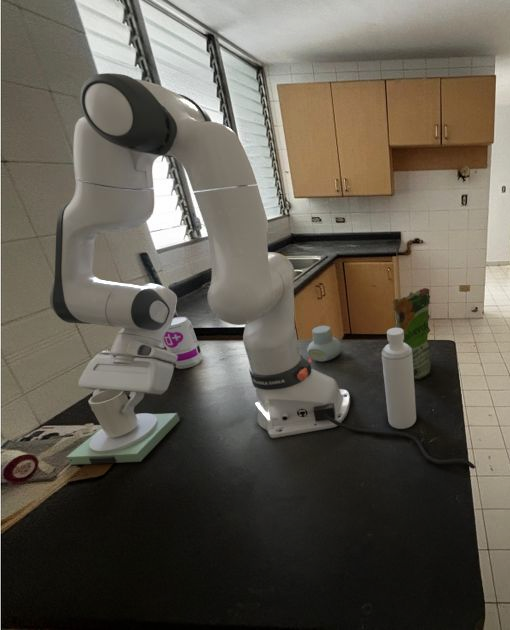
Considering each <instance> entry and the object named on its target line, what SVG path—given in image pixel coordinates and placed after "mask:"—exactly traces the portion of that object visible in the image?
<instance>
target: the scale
mask: <svg viewBox="0 0 510 630" xmlns="http://www.w3.org/2000/svg"><path fill="white" fill-rule="evenodd" d="M135 415H136V417H137V419H138V421H139V423H138V425H137V426H136V427H135V428H134V429H133V430H131V431H130V432H128V433H126V434H124V435H121V436H117V437H107V436H106V434H105V433H104V431H103V429H102V427H101V428H100V429H98V430H97V431H96V432H94V433H93V434H92V435H91V436H90V437H89V438H87V439H86V440H85V441H84V442H83V443H81V444H80V445H79V446H77V447H76V448H75V449H74V450H72V451H71V452H70V453H69V454H68V455H67V456H65V458H66V460H67V461H68V460H72V461H68V463H69V465H71V466H72V465H93V464H95V465H97V464H115V463H138V462H139V463H140V462H142V461H143V459H145V457H147V456H148V455H149V454H150V453H151V451H152V450H153V449H155V447H156V446H157V445H158V444H159V443H160V442H161V441H162V440H163V439H164V437H165V436H166V435H167V434H168V433H169V432H170V431H171V430H172V429H173V428H174V427H175V426H176V425H177V424H178V423H179V422H180V420H181V419H180V417H179V414H178V412H174V413H173V412H170V413H148V412H143V413H135Z"/></svg>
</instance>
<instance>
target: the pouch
mask: <svg viewBox="0 0 510 630" xmlns="http://www.w3.org/2000/svg"><path fill="white" fill-rule="evenodd" d="M430 299H431V295H430V289H429V288H426V287H423V288H420V289H419V290H416V291H415V292H412V291H410V293H409V295H408V296H404V297H402V298H394V300H392V301H391V303H392V305H393V311H394V312H395V319H396V323H395V326H394V328H401V329H403V331H404V340H403V343H406V344H407V345H409V346H410V347H411V348H412V349H411V350H412V357H413V372H414V380H421V379H423V378H424V377H426V376H428V375H429V374H430V373H431V366H432V365H431V364H432V363H431V360H430V354H431V353H430V352H431V351H430V350H431V346H430V345H429V341H428V339H429V338H428V337H429V335H428V334H429V333H430V332H431V328H430V326H429V320H430V318H431V315H430V313H429V312H430V311H429V309H430V308H429V305H430V304H431V301H430ZM410 347H409V348H410Z"/></svg>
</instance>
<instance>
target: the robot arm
mask: <svg viewBox="0 0 510 630" xmlns="http://www.w3.org/2000/svg"><path fill="white" fill-rule="evenodd" d="M79 103H80V107H81V111H82V114H83V116H82V117H81V118H79V119H78V120H77V121H76V123H75V125H74V130H73V141H72V142H73V143H72V160H73V171H74V179H75V189H74V194H73V197H72V198H71V200H70V201H66V202H65V203H63V204H62V205H61V207H60V208H59V211H58V214H57V219H56V227H55V229H56V230H55V251H54V252H55V255H54V278H53V284H52V287H51V290H50V294H49V304H50V307H51V309H52V311H53V312H54V314H56V316H57V317H58V318H59V319H60V320H62V321H63V322H66V323H68V324H81V325H82V324H83V325H96V326H97V325H98V326H104V327H112V328H120V330H119V331H118V332H117V334H116V336H115V339H114V341H113V344H112V346H111V348H110V350H109V349H104V350H102V351H100V352H99V353H97V354H95V356H94V357H93V358H91V359H90V361H89V362H88V364H87V365H86V367H85V369H84V370H83V372H82V374H81V375H80V377H79V379H78V382H77V383H78V388H80V389H85V390H90V391H91V390H92V391H93V393H92V396H94V395H95V394H97V393H99V392H101V391H104V390H118V391H125V392H131V393H130V395H129V396H128V397H129V398H128V402H127V403H126V404H125V405H122V406H121V409H120V411H119V412H120V413H123V414H132V413H133V410H134V411H135V407H136V406H137V405H138V404H139V403H140V402H141V401H143V399H144V397H145V394H147V395H163V394H164V393H165V392H166V391H167V390H168V388H169V386H170V383H171V381H172V377H173V373H174V370H175V367H174V366H173V363H175V362H176V361H177V358H178V356H177V355H176V354H174V353H171V352H169V351H167V349H165V348H163V347H164V345H165V343H164V336H165V333H166V332H167V330H168V329H169V328H170V325H171V323H172V320H173V318H174V316H175V313H176V308H177V304H178V303H177V302H178V296H177V294H176V293H175V292H174V291H173V290H172V289H170V288H169V287H166V286H164V285H161V284H158V283H145V284H143V285H139V284H132V283H124V282H123V283H122V282H117V281H111V280H104V279H100V278H99V277H97V276H96V275H95V274H94V273H93V268H94V267H93V266H94V253H95V243H96V242H95V241H96V239H97V238H98V236H100V235H102V234H106V233H114V232H121V231H125V230H130V229H134V228H136V227H139V226H142V225H143V224H145V223H146V222H147V221H148V220H149V219H150V218H151V217H152V215H153V214H154V210H155V188H154V178H153V168H154V167H153V166H154V163H155V161H156V160H157V159H158V158H159V157H163V156H165V157H167V158H174V159H176V160H177V161H178V162H179V164H180V165H182V167H183V169H184V171H185V173H186V175H187V178H188V180H189V184H190V187H191V189H192V192H193V195H194V198H195V201H196V203H197V207H198V209H199V212H200V214H201V215H200V216H201V218H202V221H203V224H204V227H205V230H206V234H207V238H208V243H209V244H208V245H209V252H210V253H209V254H210V264H211V265H210V267H211V278H210V279H211V280H210V284H209V288H208V290H207V295H206V296H207V298H206V299H207V303H208V306H209V309H210V310H211V311H212V313H213V314H214V315H215V316H216V317H217V318H218V319H219V320H220V321H222V322H224V323H227V324H230V325H233V326H234V325H235V326H243V325H244V330H243V335H242V340H243V341H242V342H243V346H244V349H245V354H246V357H247V360H248V364H249V369H248V370H249V371H248V372H249V374H250V379H251V382H252V385H253V387H254V388H255V393H256V399H257V402H255V406H256V407H257V418H256V420H257V423H258V425H259V427H261V428H262V429H264V430H266V431H267V434H268V436H269V437H270V438H271V439H277V438H281V437H282V438H283V437H287V436H294V435H300V434H304V433H305V434H306V433H311V432H316V431H322V430H327V429H328V430H329V429H333V428H336V427H340V428H343V429H345V430H349V431H352V432H356V433H363V434H372V435H380V436H381V435H382V436H399V437H404V438H408V439H410V440H412V441H413V442H414V443H415V444H416V445H417V447H418V448H419V450H420V452H421V454H422V455H423V457H424V458H425V459H426V460H428V461H429V462H430V463H432V464H435V465H451V464H464V465H466V466H468V467H469V468H470V469H473V470H475V469H476V465H475V464H474V463H472V462H471V461H470V460H468V459H465V458H459V457H458V458H449V459H436V458H435V457H433V456H432V455H430V454H428V452H427V451H426V449H425V448H424V446H423V444H422V442H421V441H420V439H419V438H418V437H416V436H415V435H413V434H411V433H408V432H405V431H404V432H403V431H392V430H389V431H388V430H381V429H380V430H379V429H367V428H360V427H356V426H351V425H347V424H345V423H342V422H343V421H344V420H345V418H346V417H347V415H348V413H349V411H350V406H351V396H350V393H349V391H348V390H347V389H344V388H340V387H339V385H338V382H337V381H336V380H335V378H333V377H332V376H329V375H327V374H325V373H322V372H321V371H318V370H316V369H313V368H312V367H311V364H312V363H313V362H312V360H313V359H312V358H311V357H309V358H308V360H307V359H305V358H304V356H303V355H302V354H301V352H300V346H299V341H298V336H297V331H296V323H295V294H294V293H295V292H294V291H295V290H294V283H295V275H296V273H295V267H294V265H293V263H292V262H291V261H290V259H289V258H288V257H287V256H285V255H284V254H282V253H279V252H273V251H269V249H268V247H269V246H268V233H269V226H270V225H269V220H268V217H267V214H266V210H265V207H264V203H263V199H262V196H261V194H260V193H261V192H260V190H259V186H258V183H257V179H256V175H255V173H254V170H253V167H252V165H251V163H250V160H249V157H248V155H247V153H246V151H245V148H244V146H243V145H242V142H241V140H240V138H239V137H238V135H237V133H236V132H235V131H234V130H233V129H231V128H230V127H228V126H227V125H225V124H222V123H220V122H217V121H212V119H211V117H210V116H209V114H208V113H207V111H206V110H205V109H204V108H203V107H202V105H200V104H199V103H197V102H196V101H195V100H193V99H191V98H190V97H188V96H185V95H183V94H180V93H176V92H175V91H173V90H170V89H168V88H166V87H164V86H162V85H160V84H157V83H153V82H152V81H151V82H150V81H147V80H143V79H140V78H133V77H131V76H129V75H126V74H122V73H111V72H106V73H105V72H103V73H98V74H94V75H91V76H90V77H88V78H87V79H86V80H85V81H84V83H83V84H82V86H81V89H80V94H79ZM91 411H92V412H93V410H92V408H91Z"/></svg>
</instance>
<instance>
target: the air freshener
mask: <svg viewBox="0 0 510 630" xmlns="http://www.w3.org/2000/svg"><path fill="white" fill-rule="evenodd" d="M311 335H312V341H311V342H310V343H309V344H308V346H307V348H306V353H307V356H308V357H309V358H310V357H311V360H314V361H317V362H327V361H330V360H334V359H335V358H337V357H338V356H339V355H340V354H341V352H342V350H343V345H342V342H341V341H340V340H339V339H338V338H336V337H334V336H333V333H332V327H331V326H329V325H318V326H316V327H314V328H313V329H312V330H311Z"/></svg>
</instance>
